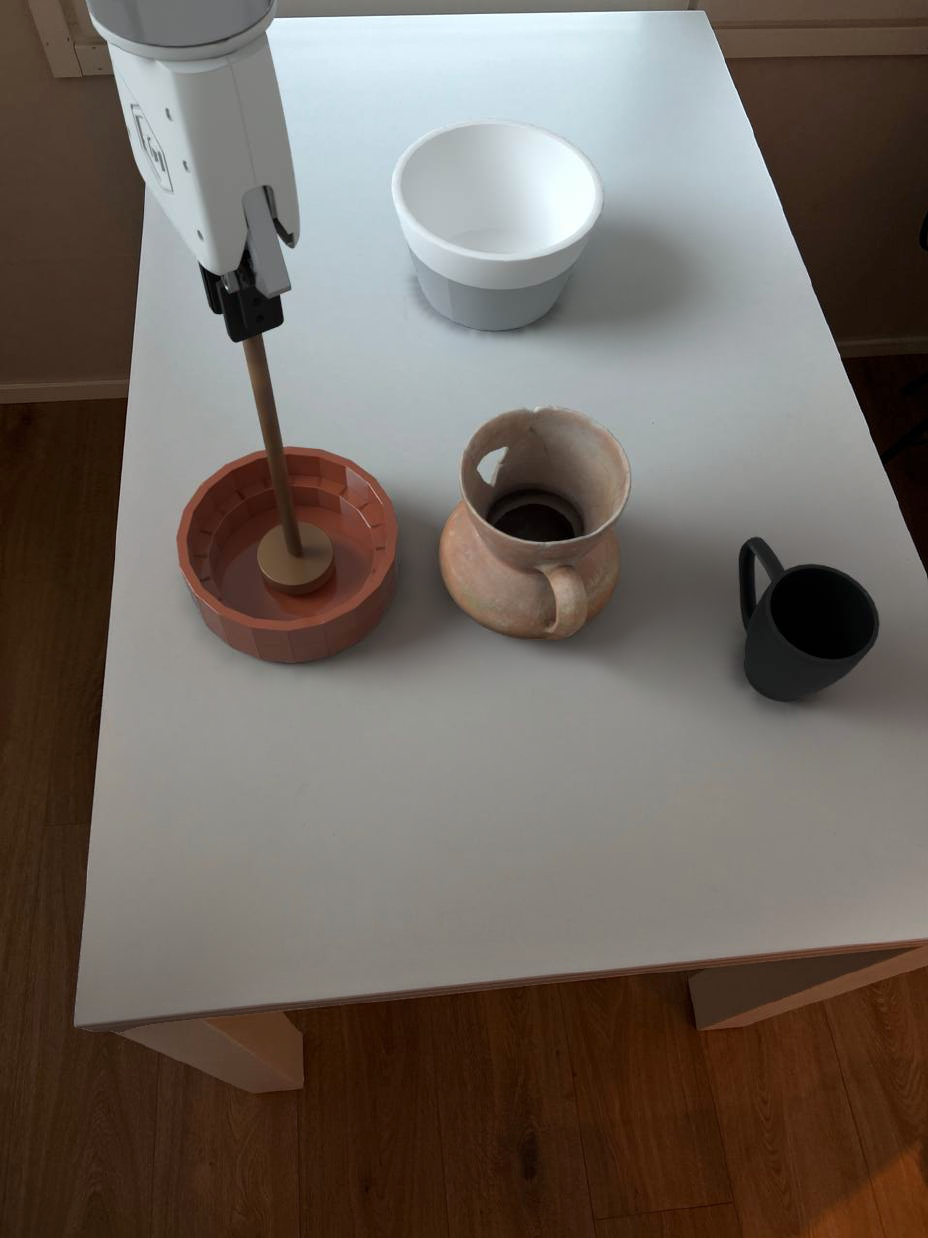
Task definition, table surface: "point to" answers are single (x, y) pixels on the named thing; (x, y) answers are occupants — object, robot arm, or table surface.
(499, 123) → the bowl
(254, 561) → the mixing bowl
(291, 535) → the wooden dowel plunger
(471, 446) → the ceramic jug
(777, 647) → the mug
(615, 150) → the table surface
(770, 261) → the table surface
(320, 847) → the table surface
